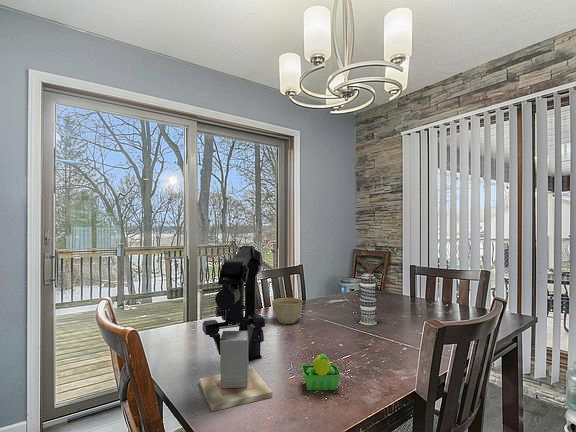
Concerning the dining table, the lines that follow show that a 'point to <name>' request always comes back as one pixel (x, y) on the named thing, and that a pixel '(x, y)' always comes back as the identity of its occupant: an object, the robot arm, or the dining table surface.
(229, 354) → the skincare box
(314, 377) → the fruit basket
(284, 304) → the planter bowl
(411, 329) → the dining table surface
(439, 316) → the dining table surface
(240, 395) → the birch base
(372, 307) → the decorative candle
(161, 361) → the dining table surface
